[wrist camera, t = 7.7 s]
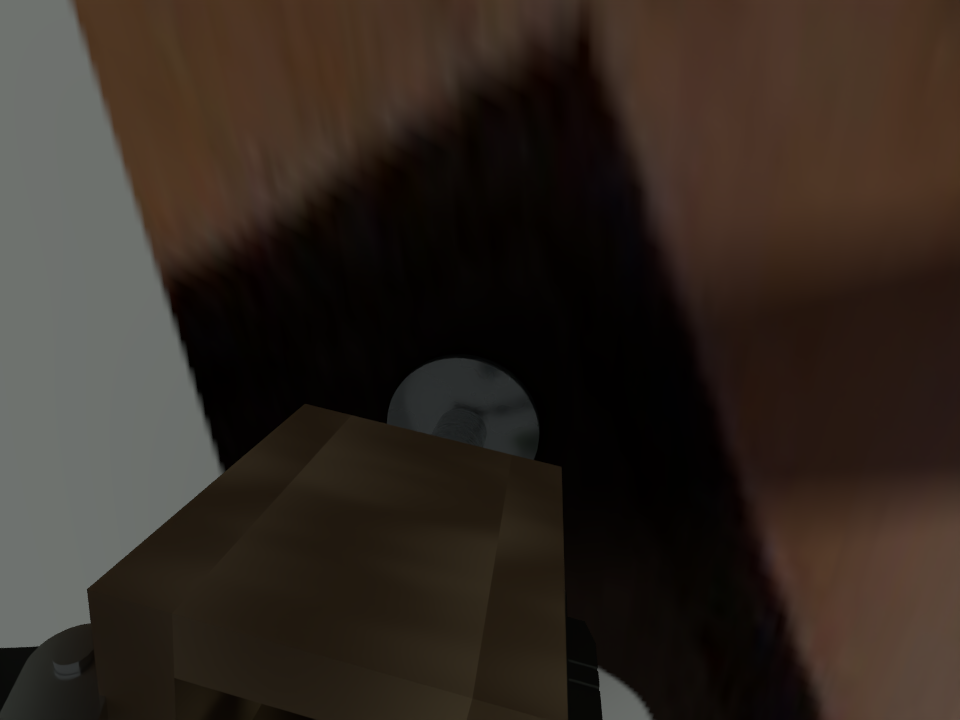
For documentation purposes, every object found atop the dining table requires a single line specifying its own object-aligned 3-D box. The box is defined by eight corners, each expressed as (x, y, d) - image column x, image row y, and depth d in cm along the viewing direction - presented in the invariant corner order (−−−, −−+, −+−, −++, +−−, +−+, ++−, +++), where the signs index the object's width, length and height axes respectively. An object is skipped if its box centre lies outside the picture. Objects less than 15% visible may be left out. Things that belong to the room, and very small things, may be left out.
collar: (561, 466, 12) (567, 725, 6) (505, 659, 14) (471, 979, 8) (304, 403, 12) (86, 589, 6) (290, 599, 14) (118, 865, 9)
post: (555, 373, 18) (553, 514, 10) (521, 504, 20) (497, 707, 12) (402, 338, 19) (286, 447, 11) (383, 470, 21) (275, 643, 13)
